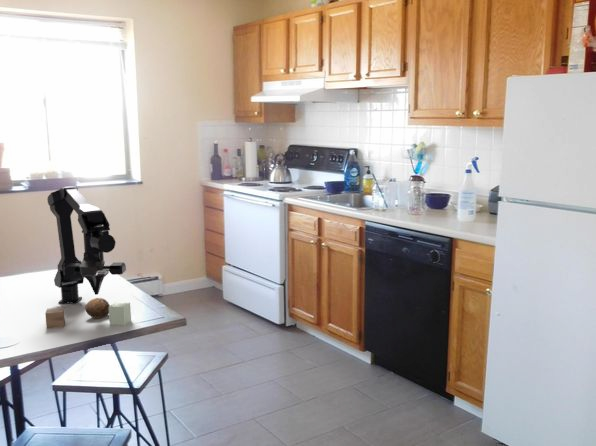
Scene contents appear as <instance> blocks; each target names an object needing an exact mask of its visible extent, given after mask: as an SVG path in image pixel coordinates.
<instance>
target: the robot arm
mask: <svg viewBox="0 0 596 446" xmlns="http://www.w3.org/2000/svg"><path fill="white" fill-rule="evenodd" d="M46 200H47V204H48V206H49V209H50V212H51V213H52V214H53V215H54V217H56V226H57V233H58V234H57V235H58V241H59V248H60V260H59V262H58V264H57V272H56V274H55V277H54V279H53V281H54V286H56V287H57V288H59V289H60V293H61V299H60V300H59V301H58V304H77V303H79V301H80V300H82V299H83V296H79V285H80V284H81V285H82V284H84V280H87V281H88V282H89V283H88V284H90V286H91V289H92V292H93V293H94V295H99V292H100V290H101V287H102V284H103V281H104V279H105V277H106V276H108V274H109V273H110V274H111V275H113V276H114V275H116V276H117V275H123V274H124V273H125V272H126V271H127V265H126V263H125V262H121V261H119V262H112V264H110V265H106V264H105V260H104V253H111V252H112V251H113V250H114V249H115V247H116V239H115V238H114V236H112V235H111V234H110V233H109V232H110V231H111V228H110V225H111V224H110V222H109V220H108V218H107V216H106V215H105V212H104V211H103V210H102V209H101V208H99V207H98V206H96V205H92V204H90V202H88V200H87V199H86V198H85V197H84V196H83V195H82V193H81V192H80V191H79V189H78V187H77V186H74V185H73V186H63V187H61V188H59V189H58V190H55V191H53V192H51V193H50V194H49V195H47V199H46ZM74 211H75V212H76V214H77V221H78V224H79V226H80V229H82V230H81V234H83V247H84V252H83V259H82V260H80V259H78V257H77V256H76V250H75V249H76V248H75V240H74V234H73V233H74V232H73V226H72V225H73V224H72V217H71V216H72V214H73V212H74ZM84 278H85V279H84Z"/></svg>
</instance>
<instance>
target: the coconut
mask: <svg viewBox="0 0 596 446" xmlns="http://www.w3.org/2000/svg"><path fill="white" fill-rule="evenodd" d="M84 306H85V307H84V310H85V312H86V313H87V315H88V316H89V317H91V318H94V319H102V318H105V317H106V316H109V306H111V305H110V304H109V302H108V301H107V300H106V299H105V298H102V297H96V298H93V299H91V300H89V301H88V302H86V304H85V305H84Z"/></svg>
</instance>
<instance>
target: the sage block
mask: <svg viewBox="0 0 596 446" xmlns="http://www.w3.org/2000/svg"><path fill="white" fill-rule="evenodd" d="M108 319H109V320H108V321H109V322H108V323H109V326H126V325H127V324H129V323H130V322H131V321H132V312H131V302H123V301H122V302H121V301H120V302H119V301H118V302H117V301H115V302H114V303H112V304H111V305H110V306H109V314H108Z"/></svg>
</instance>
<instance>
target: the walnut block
mask: <svg viewBox="0 0 596 446" xmlns="http://www.w3.org/2000/svg"><path fill="white" fill-rule="evenodd" d="M65 322H66V320H65V307H51V308H46V310H45V324H46V325H45V326H46V329H55V328H56V329H57V328H64V327H65V324H66V323H65Z"/></svg>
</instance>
